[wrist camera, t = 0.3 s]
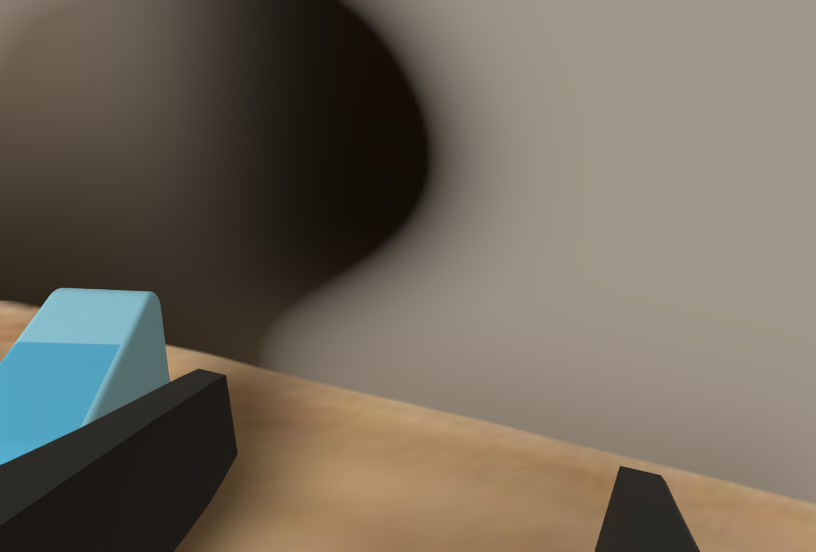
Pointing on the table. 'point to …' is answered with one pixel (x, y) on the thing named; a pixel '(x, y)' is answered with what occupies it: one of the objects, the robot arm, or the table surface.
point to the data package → (79, 364)
